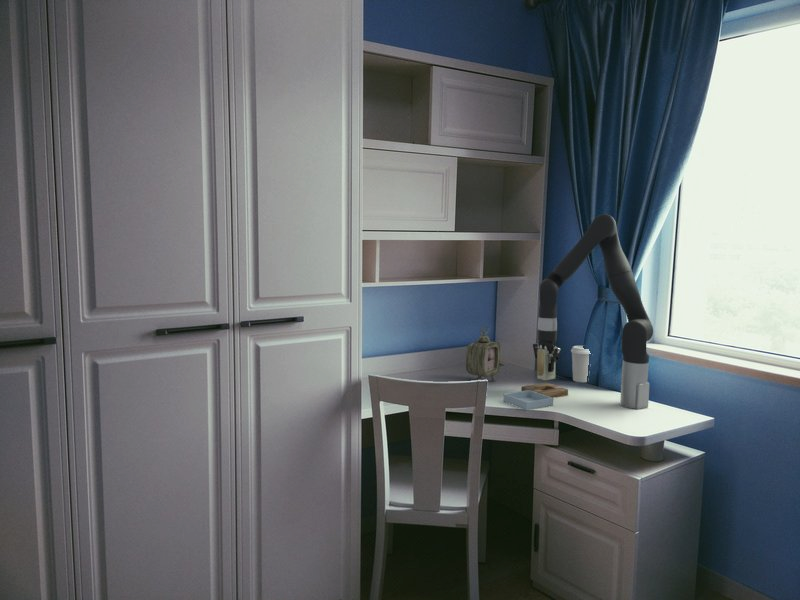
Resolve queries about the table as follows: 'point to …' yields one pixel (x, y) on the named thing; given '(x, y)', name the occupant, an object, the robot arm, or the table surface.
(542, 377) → the skincare box
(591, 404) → the table surface
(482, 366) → the tabletop clock
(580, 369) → the coffee cup
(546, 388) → the walnut plate
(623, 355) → the robot arm
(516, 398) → the tray
